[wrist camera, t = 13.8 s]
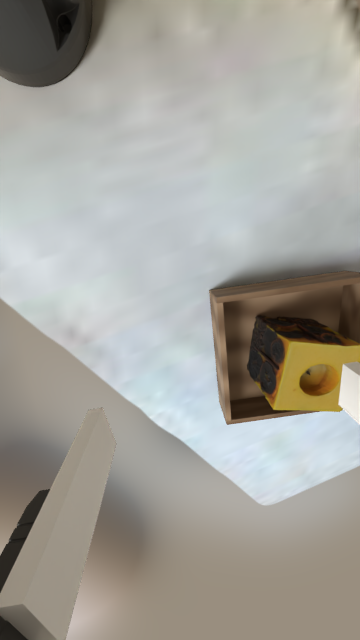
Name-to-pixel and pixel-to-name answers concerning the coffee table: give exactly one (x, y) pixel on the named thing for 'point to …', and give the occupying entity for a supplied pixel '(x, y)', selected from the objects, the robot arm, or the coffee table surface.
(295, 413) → the crate
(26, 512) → the robot arm
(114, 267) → the coffee table surface
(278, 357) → the candle
